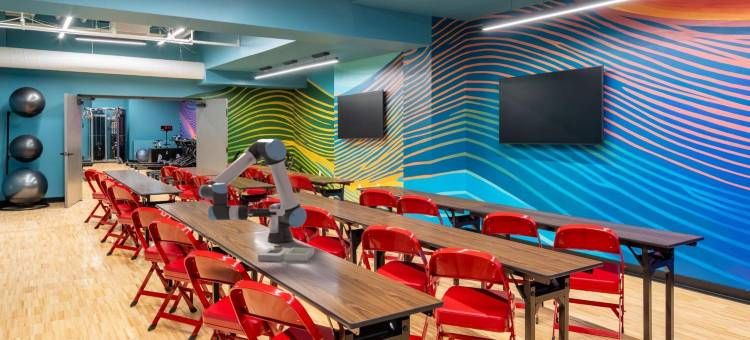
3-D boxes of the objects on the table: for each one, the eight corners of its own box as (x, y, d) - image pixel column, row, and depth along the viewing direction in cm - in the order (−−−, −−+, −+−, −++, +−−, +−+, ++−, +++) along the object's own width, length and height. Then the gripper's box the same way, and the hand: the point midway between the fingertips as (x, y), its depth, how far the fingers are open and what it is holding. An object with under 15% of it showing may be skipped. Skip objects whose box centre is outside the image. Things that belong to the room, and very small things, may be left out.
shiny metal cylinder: (271, 231, 260) (271, 205, 259) (279, 231, 259) (278, 205, 258) (268, 232, 256) (267, 206, 255) (276, 233, 255) (276, 206, 254)
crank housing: (269, 253, 267) (269, 244, 267) (290, 253, 266) (290, 244, 265) (257, 260, 252) (257, 251, 251) (280, 261, 250) (280, 252, 250)
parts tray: (292, 254, 263) (292, 247, 263) (314, 255, 262) (314, 248, 261) (284, 261, 250) (283, 253, 249) (306, 262, 248) (306, 254, 247)
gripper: (243, 217, 265) (286, 216, 266) (235, 222, 248) (281, 222, 249) (243, 203, 265) (286, 202, 265) (234, 208, 247) (280, 207, 248)
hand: (283, 212), depth 257 cm, fingers closed on shiny metal cylinder, 4 cm apart
